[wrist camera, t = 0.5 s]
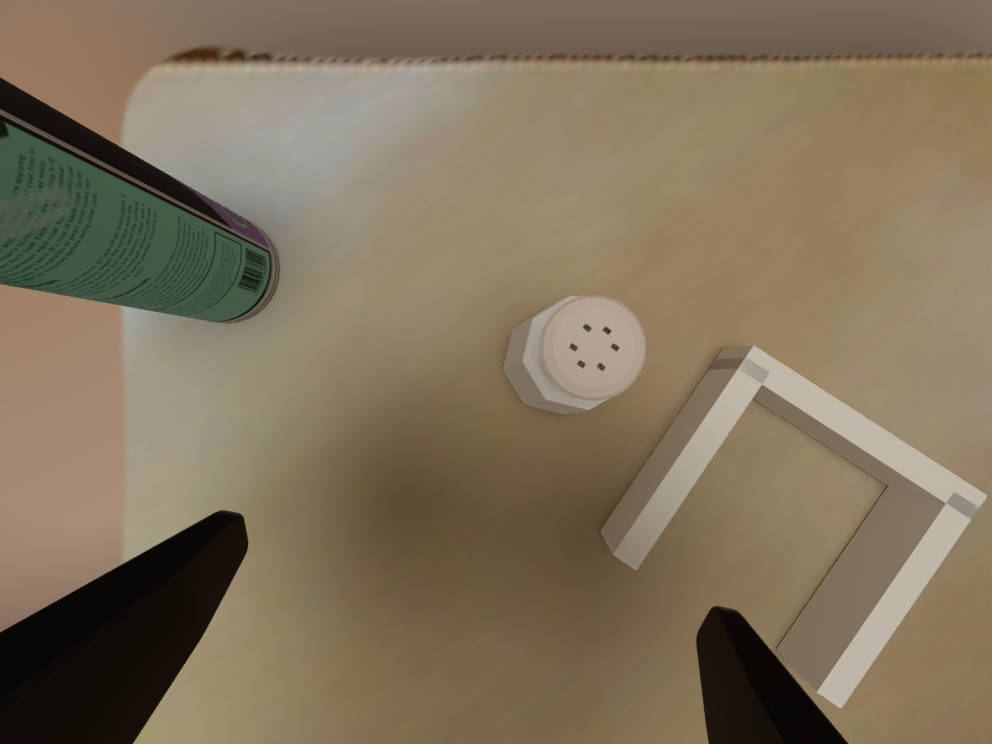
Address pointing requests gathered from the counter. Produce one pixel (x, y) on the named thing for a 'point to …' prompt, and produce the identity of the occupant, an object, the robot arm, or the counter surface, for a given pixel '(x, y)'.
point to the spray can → (118, 224)
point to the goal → (871, 552)
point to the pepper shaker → (575, 354)
